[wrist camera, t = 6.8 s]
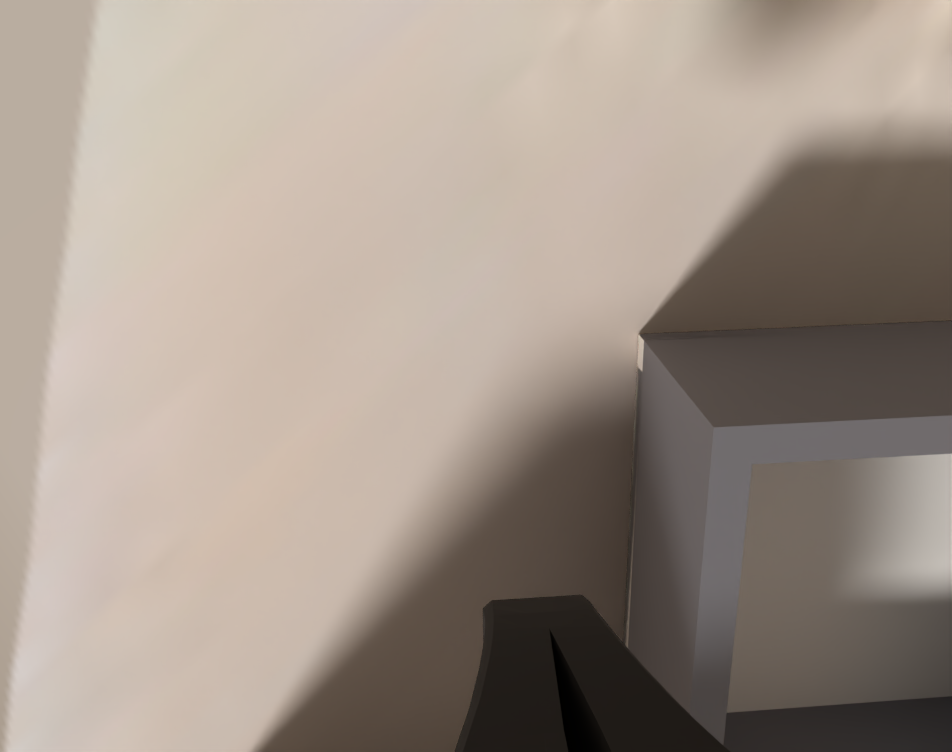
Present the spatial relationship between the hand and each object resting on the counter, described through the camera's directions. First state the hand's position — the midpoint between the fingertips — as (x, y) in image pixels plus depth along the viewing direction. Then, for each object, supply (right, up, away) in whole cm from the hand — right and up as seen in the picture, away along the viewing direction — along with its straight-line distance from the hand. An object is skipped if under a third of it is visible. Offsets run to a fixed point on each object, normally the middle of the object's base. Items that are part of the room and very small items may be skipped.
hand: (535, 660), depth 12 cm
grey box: (+9, -1, +12) cm, 15 cm away
